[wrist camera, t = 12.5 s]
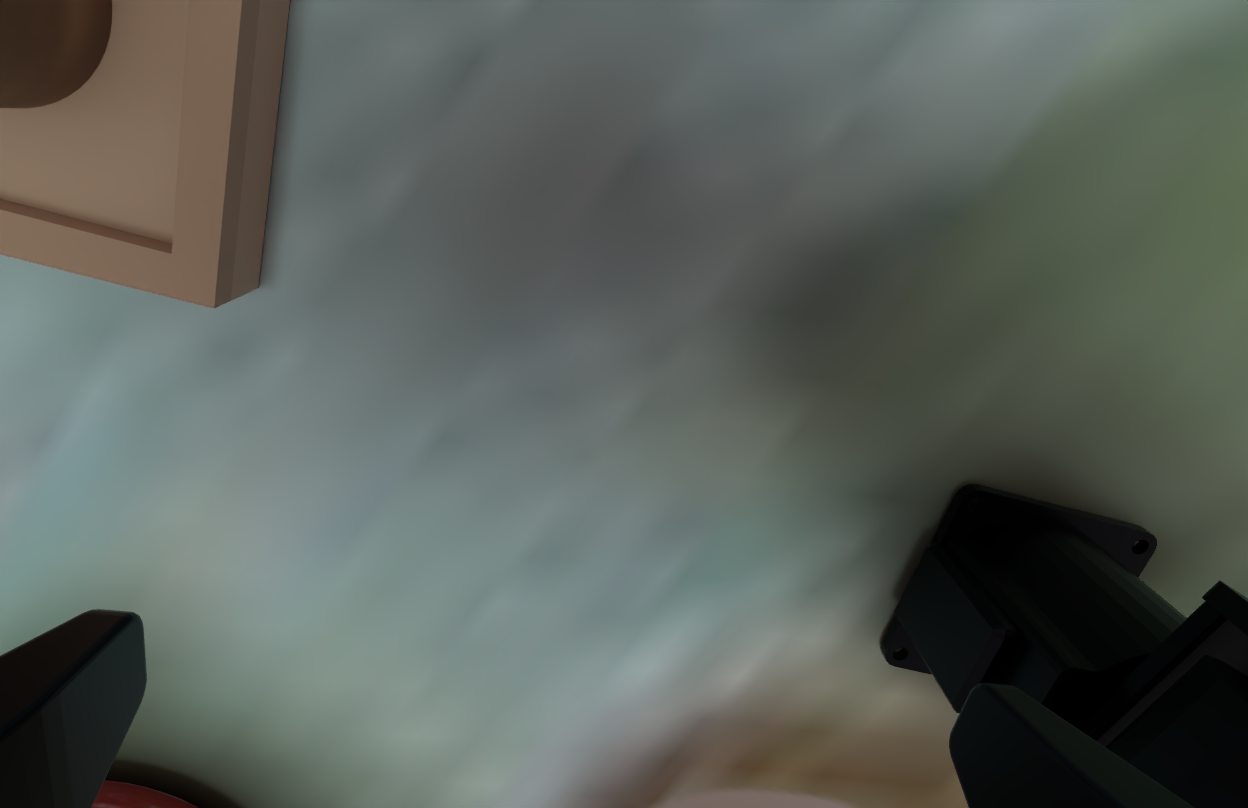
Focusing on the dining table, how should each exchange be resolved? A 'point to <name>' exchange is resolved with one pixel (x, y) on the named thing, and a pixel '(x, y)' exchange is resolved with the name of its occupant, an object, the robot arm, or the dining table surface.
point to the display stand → (154, 153)
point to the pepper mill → (50, 48)
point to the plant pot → (135, 797)
